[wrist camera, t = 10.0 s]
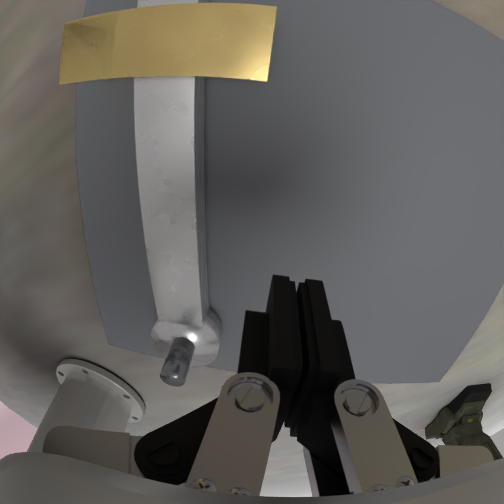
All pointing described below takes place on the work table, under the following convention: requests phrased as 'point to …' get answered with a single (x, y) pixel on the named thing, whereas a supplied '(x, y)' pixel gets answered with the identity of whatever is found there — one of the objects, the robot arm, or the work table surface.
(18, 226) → the work table surface
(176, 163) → the link
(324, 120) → the base plate
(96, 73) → the strip
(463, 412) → the mechanical leg
